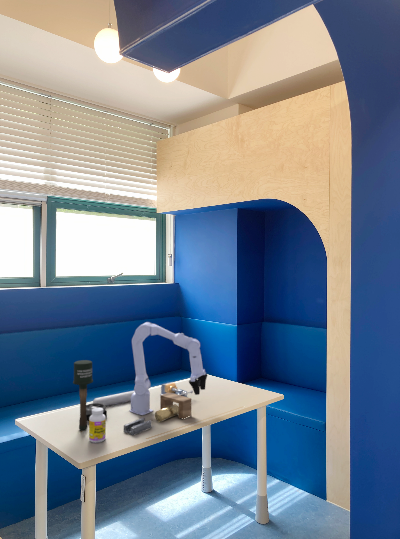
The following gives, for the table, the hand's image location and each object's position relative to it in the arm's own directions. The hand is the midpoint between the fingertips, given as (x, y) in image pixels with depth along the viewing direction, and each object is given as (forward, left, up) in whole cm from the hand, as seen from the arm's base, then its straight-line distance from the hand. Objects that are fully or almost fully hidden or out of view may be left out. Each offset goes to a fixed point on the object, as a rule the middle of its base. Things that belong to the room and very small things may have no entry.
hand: (200, 391), depth 205 cm
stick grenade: (-28, -48, -11) cm, 56 cm away
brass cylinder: (-9, -14, -11) cm, 20 cm away
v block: (-9, -33, -11) cm, 36 cm away
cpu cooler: (-36, -36, -11) cm, 52 cm away
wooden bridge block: (-9, -8, -11) cm, 16 cm away
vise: (-26, +11, -11) cm, 31 cm away
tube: (-44, -16, -11) cm, 48 cm away
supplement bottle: (-14, -51, -11) cm, 54 cm away
